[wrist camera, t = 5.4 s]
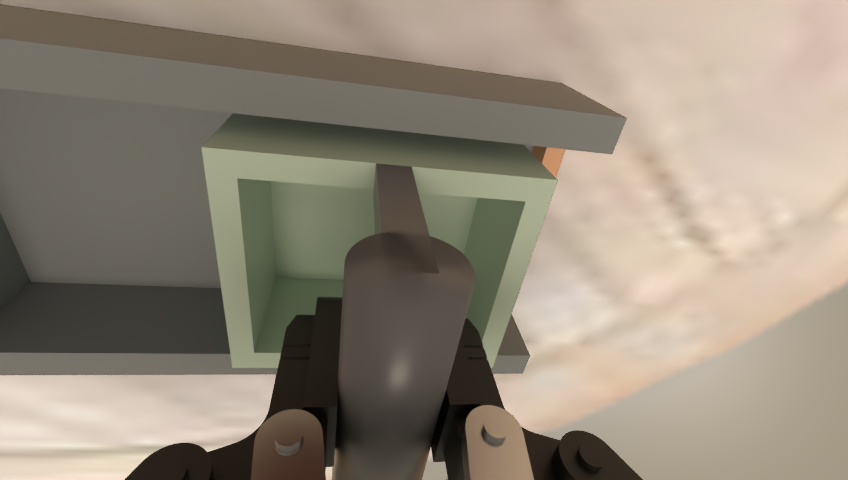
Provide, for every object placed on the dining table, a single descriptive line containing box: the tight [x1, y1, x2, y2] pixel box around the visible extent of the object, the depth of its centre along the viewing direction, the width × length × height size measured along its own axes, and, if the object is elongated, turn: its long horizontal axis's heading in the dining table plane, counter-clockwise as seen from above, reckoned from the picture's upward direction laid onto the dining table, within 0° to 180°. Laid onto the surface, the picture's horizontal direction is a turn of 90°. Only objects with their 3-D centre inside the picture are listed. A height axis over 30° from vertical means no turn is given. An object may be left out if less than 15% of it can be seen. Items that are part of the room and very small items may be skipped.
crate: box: [201, 113, 558, 480], centre depth 13 cm, size 8×10×11 cm
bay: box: [0, 4, 627, 375], centre depth 16 cm, size 12×23×5 cm, turn 81°
